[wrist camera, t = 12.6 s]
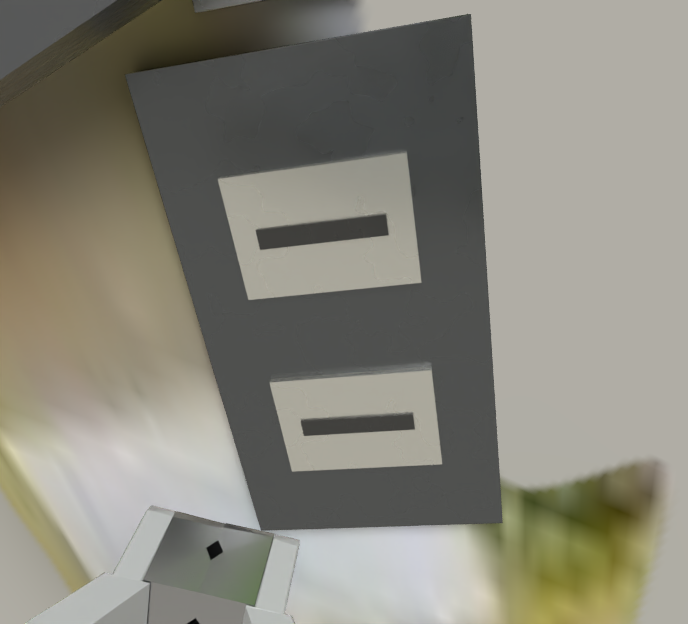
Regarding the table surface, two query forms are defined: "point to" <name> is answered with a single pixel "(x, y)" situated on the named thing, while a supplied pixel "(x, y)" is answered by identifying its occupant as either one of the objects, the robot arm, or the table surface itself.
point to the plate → (339, 269)
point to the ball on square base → (218, 4)
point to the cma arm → (54, 35)
